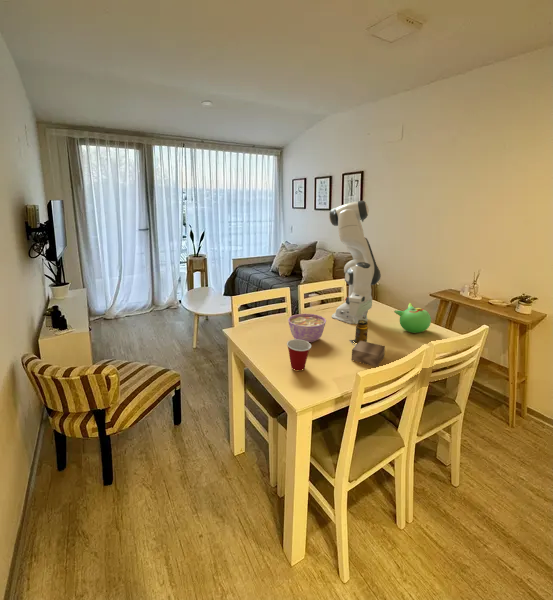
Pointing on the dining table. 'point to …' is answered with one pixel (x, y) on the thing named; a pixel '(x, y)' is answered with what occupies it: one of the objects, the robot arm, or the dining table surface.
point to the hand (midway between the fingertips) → (360, 320)
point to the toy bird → (414, 319)
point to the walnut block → (368, 353)
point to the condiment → (360, 332)
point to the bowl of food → (307, 326)
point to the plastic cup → (298, 353)
